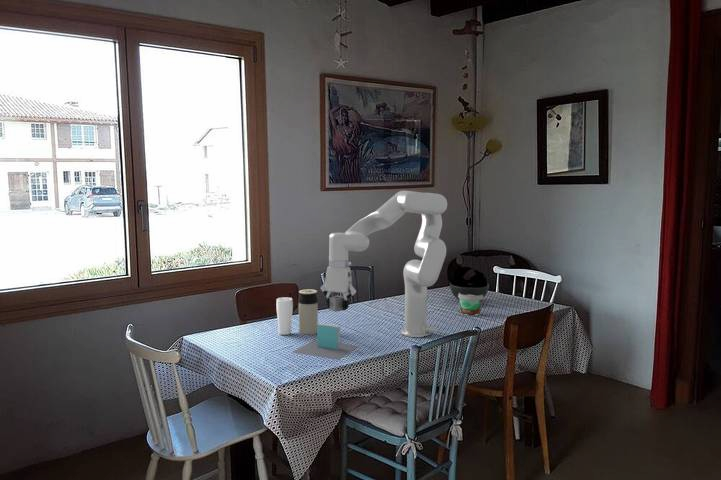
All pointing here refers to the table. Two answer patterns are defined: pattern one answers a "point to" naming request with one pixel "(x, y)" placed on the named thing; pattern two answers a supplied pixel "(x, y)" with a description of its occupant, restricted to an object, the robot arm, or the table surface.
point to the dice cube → (336, 303)
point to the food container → (470, 303)
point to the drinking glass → (284, 315)
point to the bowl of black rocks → (468, 283)
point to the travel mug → (308, 311)
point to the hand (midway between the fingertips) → (337, 308)
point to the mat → (325, 350)
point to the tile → (328, 336)
